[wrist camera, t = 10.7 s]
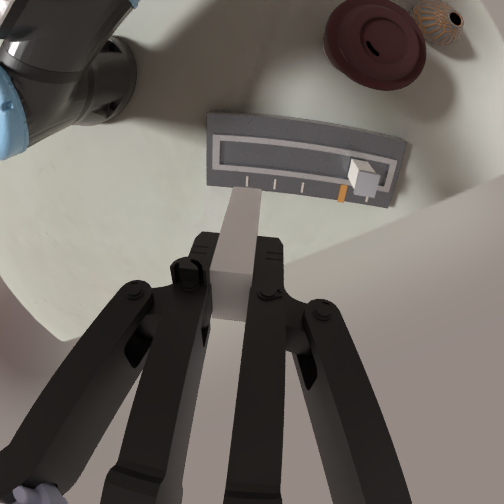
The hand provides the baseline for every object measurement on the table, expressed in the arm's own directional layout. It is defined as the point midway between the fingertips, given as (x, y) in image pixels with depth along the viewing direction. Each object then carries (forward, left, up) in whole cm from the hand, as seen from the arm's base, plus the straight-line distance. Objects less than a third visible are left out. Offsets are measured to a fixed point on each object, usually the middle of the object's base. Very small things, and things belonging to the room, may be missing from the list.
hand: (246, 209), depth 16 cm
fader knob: (+13, -5, -24) cm, 28 cm away
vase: (+21, +20, -27) cm, 39 cm away
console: (+6, -5, -26) cm, 27 cm away
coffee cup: (+10, +12, -27) cm, 31 cm away
